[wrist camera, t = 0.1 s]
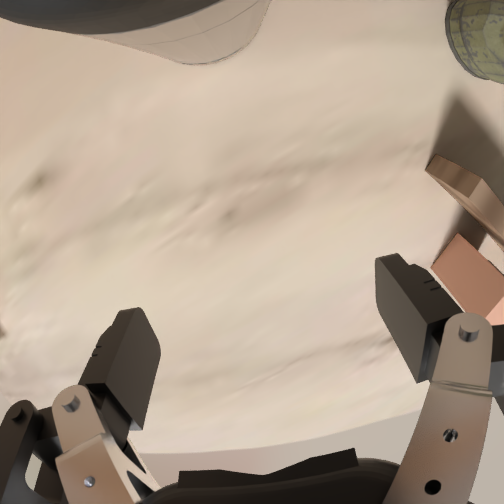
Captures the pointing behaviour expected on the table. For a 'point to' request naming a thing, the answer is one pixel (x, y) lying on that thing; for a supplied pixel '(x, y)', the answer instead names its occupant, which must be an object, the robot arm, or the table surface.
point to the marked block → (472, 280)
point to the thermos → (478, 37)
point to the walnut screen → (471, 195)
